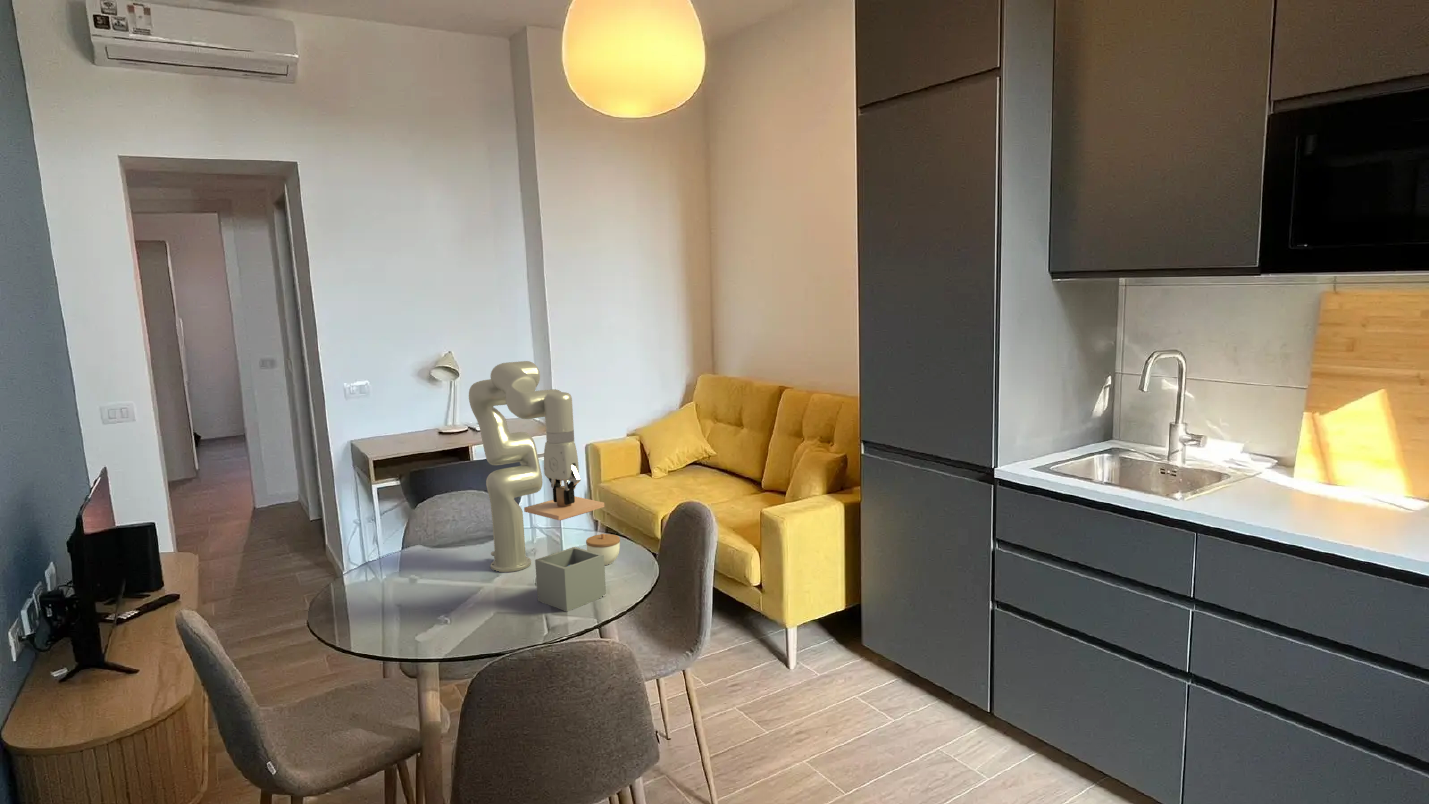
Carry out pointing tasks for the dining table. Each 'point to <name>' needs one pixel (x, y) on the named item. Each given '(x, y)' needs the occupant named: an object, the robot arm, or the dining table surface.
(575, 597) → the storage box
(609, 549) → the lidded jar
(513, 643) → the dining table surface
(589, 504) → the lid
